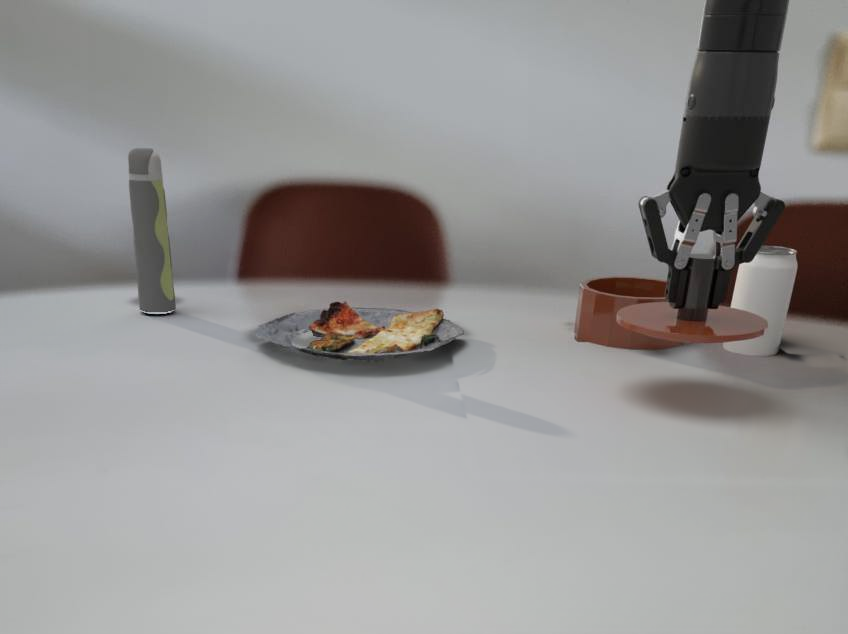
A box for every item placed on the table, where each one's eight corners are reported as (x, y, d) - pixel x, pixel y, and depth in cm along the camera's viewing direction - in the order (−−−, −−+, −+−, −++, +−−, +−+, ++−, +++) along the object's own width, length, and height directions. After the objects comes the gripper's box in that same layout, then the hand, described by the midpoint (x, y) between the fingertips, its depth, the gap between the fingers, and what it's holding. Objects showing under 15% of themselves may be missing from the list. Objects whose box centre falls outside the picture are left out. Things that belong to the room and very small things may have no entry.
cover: (738, 314, 104) (752, 244, 101) (787, 349, 92) (805, 271, 88) (602, 312, 104) (611, 243, 101) (633, 347, 92) (644, 269, 88)
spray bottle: (182, 310, 134) (169, 148, 124) (165, 317, 130) (151, 150, 120) (150, 307, 135) (135, 146, 125) (133, 314, 131) (116, 149, 121)
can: (785, 353, 120) (810, 250, 114) (763, 363, 116) (787, 256, 109) (735, 343, 123) (756, 243, 117) (712, 353, 119) (733, 249, 113)
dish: (663, 323, 132) (671, 273, 129) (702, 361, 116) (713, 304, 113) (563, 321, 132) (569, 271, 129) (588, 359, 116) (596, 302, 113)
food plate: (325, 315, 133) (325, 288, 131) (486, 336, 124) (488, 307, 123) (224, 357, 114) (222, 326, 112) (406, 386, 105) (408, 353, 103)
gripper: (790, 109, 91) (751, 300, 100) (640, 107, 91) (614, 298, 100) (821, 113, 85) (776, 317, 94) (659, 111, 85) (630, 315, 94)
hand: (692, 306), depth 97 cm, fingers closed on cover, 3 cm apart
